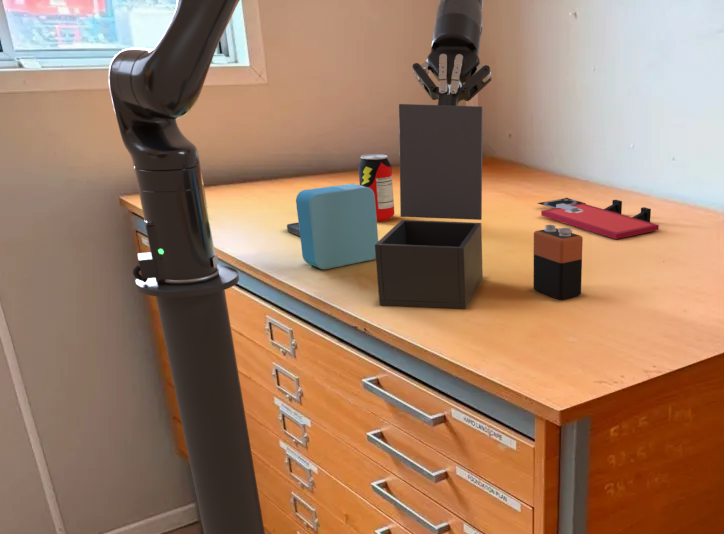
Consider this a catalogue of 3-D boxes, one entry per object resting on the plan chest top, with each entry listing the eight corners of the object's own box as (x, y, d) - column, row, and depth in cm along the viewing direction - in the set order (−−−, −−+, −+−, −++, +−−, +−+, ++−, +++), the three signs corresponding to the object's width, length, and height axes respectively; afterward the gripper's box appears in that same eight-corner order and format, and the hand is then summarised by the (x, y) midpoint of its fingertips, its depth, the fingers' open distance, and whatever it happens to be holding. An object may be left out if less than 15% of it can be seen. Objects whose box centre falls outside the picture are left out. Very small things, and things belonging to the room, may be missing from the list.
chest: (465, 308, 125) (463, 248, 121) (379, 305, 126) (374, 244, 122) (482, 278, 139) (481, 222, 135) (404, 274, 140) (401, 219, 136)
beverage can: (387, 214, 178) (382, 152, 173) (399, 220, 173) (395, 157, 168) (357, 217, 175) (352, 154, 169) (369, 223, 170) (364, 159, 165)
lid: (481, 106, 130) (482, 107, 131) (398, 103, 131) (400, 104, 132) (480, 219, 135) (481, 219, 135) (400, 216, 135) (401, 216, 136)
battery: (560, 301, 129) (561, 233, 125) (531, 290, 134) (532, 224, 129) (582, 295, 132) (584, 229, 127) (553, 285, 137) (554, 221, 132)
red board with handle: (573, 201, 192) (519, 210, 183) (573, 188, 190) (518, 197, 182) (671, 229, 172) (616, 241, 163) (672, 215, 170) (616, 226, 162)
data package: (365, 253, 151) (359, 182, 145) (380, 258, 148) (374, 186, 143) (303, 265, 143) (294, 191, 138) (317, 271, 140) (308, 195, 135)
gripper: (412, 10, 138) (399, 101, 132) (495, 12, 137) (485, 103, 132) (421, 45, 145) (409, 133, 140) (500, 47, 144) (491, 135, 139)
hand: (446, 118), depth 136 cm, fingers closed
